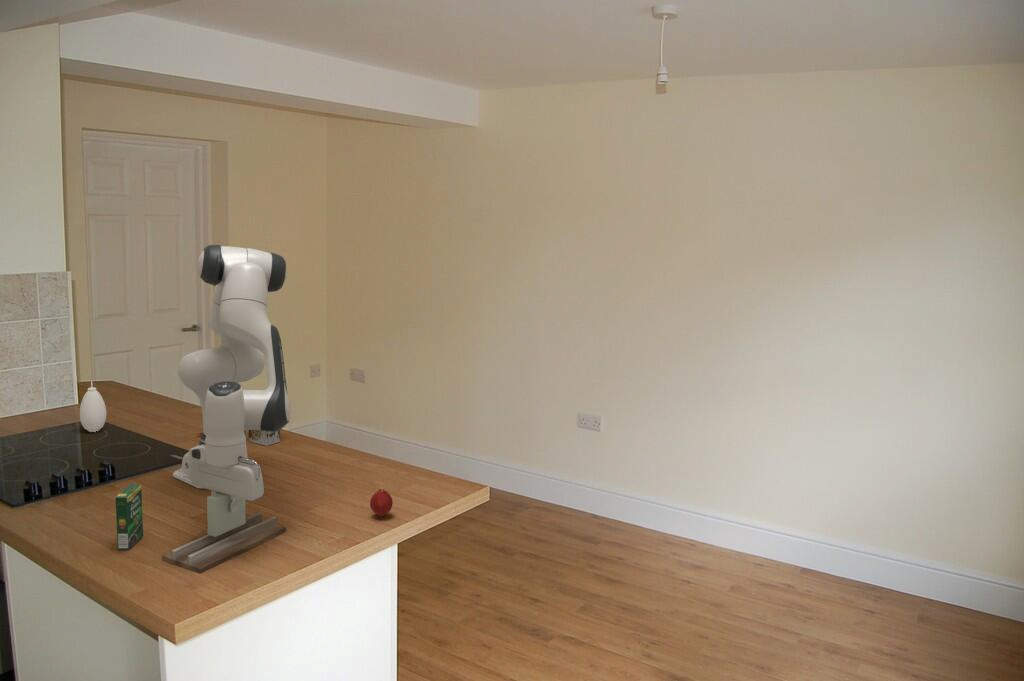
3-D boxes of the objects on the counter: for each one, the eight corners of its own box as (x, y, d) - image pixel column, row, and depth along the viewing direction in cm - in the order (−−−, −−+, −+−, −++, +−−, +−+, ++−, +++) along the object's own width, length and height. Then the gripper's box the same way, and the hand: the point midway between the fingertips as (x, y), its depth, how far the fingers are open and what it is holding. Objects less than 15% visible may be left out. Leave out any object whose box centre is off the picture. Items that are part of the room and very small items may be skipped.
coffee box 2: (129, 551, 172) (127, 496, 170) (116, 551, 172) (114, 496, 170) (144, 536, 180) (142, 483, 178) (132, 536, 180) (129, 483, 178)
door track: (162, 560, 169) (161, 547, 168) (249, 520, 192) (249, 509, 191) (200, 573, 163) (200, 560, 163) (286, 531, 186) (286, 519, 186)
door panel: (207, 534, 174) (207, 497, 172) (237, 521, 181) (237, 485, 180) (215, 536, 172) (214, 499, 171) (245, 523, 180) (245, 487, 179)
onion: (371, 512, 201) (371, 483, 199) (393, 512, 201) (393, 483, 200) (368, 520, 195) (369, 491, 194) (391, 521, 196) (392, 491, 194)
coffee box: (281, 442, 257) (280, 395, 254) (265, 446, 251) (265, 399, 249) (263, 437, 261) (262, 391, 259) (247, 441, 256) (247, 394, 253)
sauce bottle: (98, 435, 255) (96, 383, 252) (75, 434, 255) (73, 382, 252) (111, 429, 262) (109, 378, 259) (89, 428, 262) (86, 377, 259)
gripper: (269, 457, 172) (270, 515, 175) (205, 442, 181) (206, 497, 183) (249, 465, 167) (249, 524, 169) (183, 448, 176) (185, 505, 178)
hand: (226, 510), depth 176 cm, fingers closed on door panel, 2 cm apart
